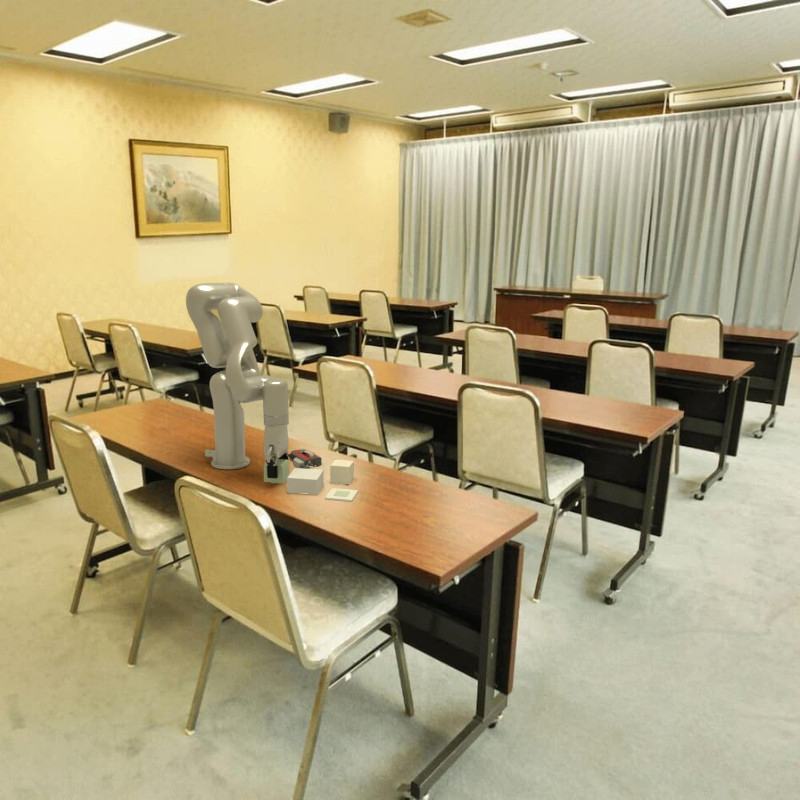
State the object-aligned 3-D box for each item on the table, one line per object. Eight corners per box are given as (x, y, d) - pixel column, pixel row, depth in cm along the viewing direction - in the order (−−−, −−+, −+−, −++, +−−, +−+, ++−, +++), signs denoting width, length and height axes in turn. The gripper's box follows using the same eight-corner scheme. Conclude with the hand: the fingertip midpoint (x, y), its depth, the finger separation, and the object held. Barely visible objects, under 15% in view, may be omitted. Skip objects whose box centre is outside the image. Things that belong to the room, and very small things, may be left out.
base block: (287, 493, 194) (287, 477, 193) (295, 483, 203) (294, 468, 202) (317, 495, 193) (317, 479, 192) (323, 485, 202) (323, 469, 201)
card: (324, 499, 190) (324, 497, 190) (332, 489, 198) (332, 487, 198) (351, 501, 189) (351, 499, 189) (358, 491, 197) (358, 489, 197)
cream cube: (330, 483, 203) (330, 465, 202) (335, 477, 209) (335, 459, 207) (349, 485, 202) (349, 466, 201) (353, 478, 208) (353, 460, 207)
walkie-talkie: (282, 459, 225) (310, 476, 209) (282, 447, 224) (310, 463, 208) (305, 455, 230) (334, 472, 215) (305, 443, 229) (334, 459, 213)
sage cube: (264, 482, 202) (263, 464, 201) (270, 476, 208) (270, 458, 207) (282, 484, 201) (282, 465, 200) (289, 477, 207) (288, 459, 206)
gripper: (274, 412, 209) (276, 464, 213) (253, 425, 192) (256, 481, 196) (297, 413, 208) (298, 465, 211) (278, 427, 191) (280, 482, 195)
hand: (278, 472), depth 204 cm, fingers open, 9 cm apart
